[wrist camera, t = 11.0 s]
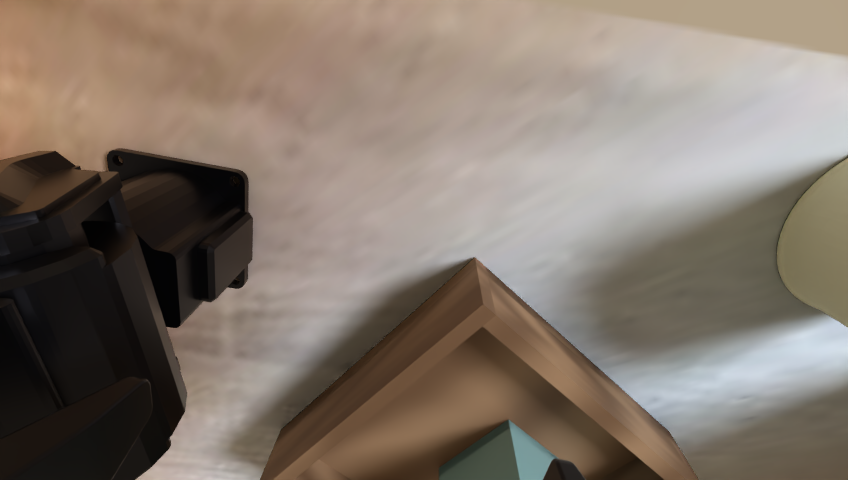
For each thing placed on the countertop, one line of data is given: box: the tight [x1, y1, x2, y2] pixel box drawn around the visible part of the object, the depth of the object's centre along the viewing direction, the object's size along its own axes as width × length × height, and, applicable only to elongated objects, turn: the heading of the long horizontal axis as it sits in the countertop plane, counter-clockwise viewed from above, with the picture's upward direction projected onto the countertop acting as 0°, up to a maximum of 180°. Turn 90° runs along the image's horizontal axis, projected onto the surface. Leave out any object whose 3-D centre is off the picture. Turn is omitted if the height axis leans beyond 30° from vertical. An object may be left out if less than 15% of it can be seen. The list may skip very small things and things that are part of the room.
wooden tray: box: [260, 258, 698, 480], centre depth 25 cm, size 18×18×4 cm
